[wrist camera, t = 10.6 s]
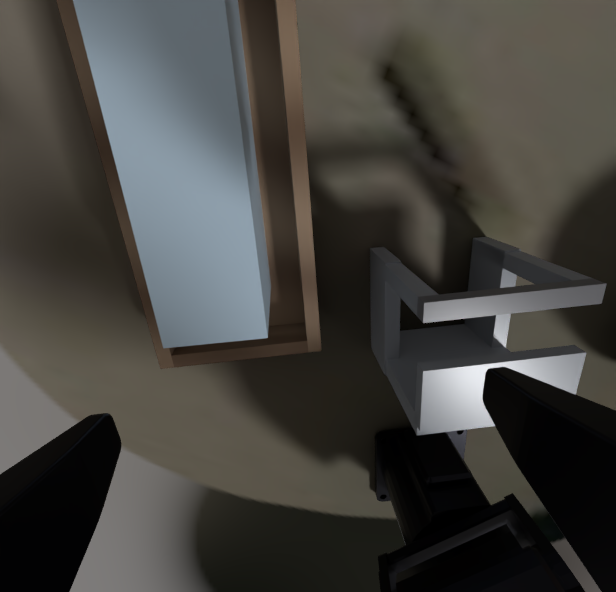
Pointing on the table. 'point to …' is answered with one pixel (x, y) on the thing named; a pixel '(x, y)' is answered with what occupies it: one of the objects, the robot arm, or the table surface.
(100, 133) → the tray
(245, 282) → the pale blue rectangular pillar
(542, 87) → the table surface
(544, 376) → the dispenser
